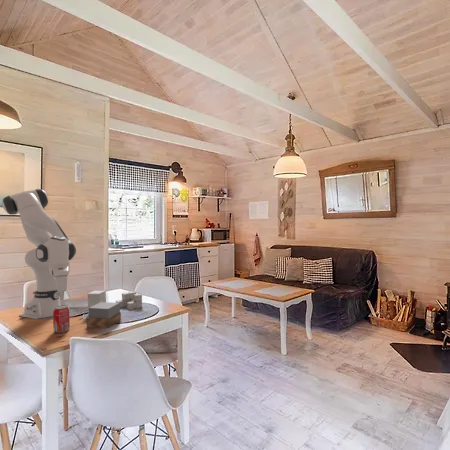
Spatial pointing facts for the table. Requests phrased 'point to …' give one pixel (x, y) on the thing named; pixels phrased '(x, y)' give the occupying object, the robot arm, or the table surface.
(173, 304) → the table surface
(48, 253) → the robot arm
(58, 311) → the soda can
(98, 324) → the tower bottom
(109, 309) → the tower top
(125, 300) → the puzzle cube
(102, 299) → the supplement box
